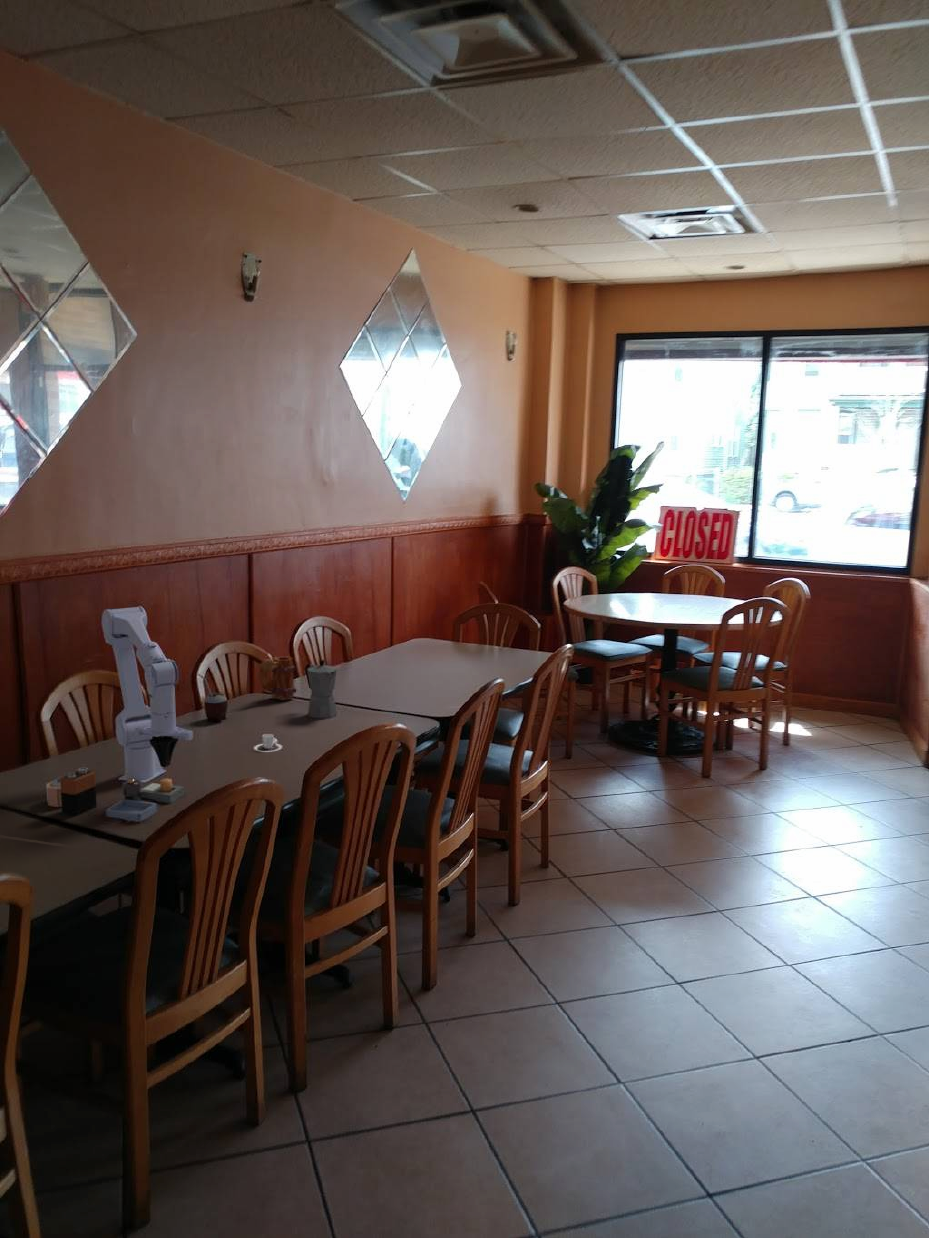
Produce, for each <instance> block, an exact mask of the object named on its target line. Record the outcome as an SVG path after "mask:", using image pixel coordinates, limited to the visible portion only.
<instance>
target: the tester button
mask: <svg viewBox="0 0 929 1238" xmlns="http://www.w3.org/2000/svg"><path fill="white" fill-rule="evenodd" d="M159 784H160V792H167V793H169V792H171V791H172V785H173V780H172V778H162V779H160V780H159Z"/></svg>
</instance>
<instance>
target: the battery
mask: <svg viewBox="0 0 929 1238" xmlns="http://www.w3.org/2000/svg"><path fill="white" fill-rule="evenodd" d="M88 769H89V768H88V767H85V766H84V767H79V768H78V769H77V771H75V772H68V773H67V775H63V776H64V777H62V778H60V785H61V800H62V807H61V812H62V815H67V816H72V817H78V816H81V815H83V814H84V813H86V812H88V811H91V810H93V809H96V808H97V807H98V805H97V791H96V790H97V789H96V788H97V786H96V785H97V784H96V773H95V772H94V771H92V770H88Z"/></svg>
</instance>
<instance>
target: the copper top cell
mask: <svg viewBox="0 0 929 1238" xmlns="http://www.w3.org/2000/svg"><path fill="white" fill-rule="evenodd" d="M121 786H122V787H121V788H122V800H123V799H127V800H134V801H142V798H141V791H140V789H141V782H140V781H138V780H135V779H128V780H124V781H123V782H122V785H121Z"/></svg>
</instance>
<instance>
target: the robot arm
mask: <svg viewBox="0 0 929 1238" xmlns="http://www.w3.org/2000/svg"><path fill="white" fill-rule="evenodd" d="M147 625H148V615H147V612H146V609H144V608H143V606H141V605H138V606H135V607H134V606H133V607H124V608H113V609H104V610H103V612H102V615H101V627H102V631H103V637H104V639H105V643H106V644H108V645H110V646H112V649H113V650H112V651H113V654H114V658H115V662H116V669H117V674H118V679H119V685H120V690H121V695H122V700H123V707H124V708H123V709H122V710H121V712H119V713H118V714H117V716H116V717H115V736H116V740H117V743H118V744H119V745H120V746H122V747H123V749H124V750H123V751H124V753H123V754H124V768H125V769H124V771H125V774H124V775H122V776H120V777H119V778H118V779H117V780H119V781H120V780H121V781H127V780H128V779H135V780H138V781H140V783H143V784H144V783H147V782H149V781H151V780H153V779H154V780H155V779H156V778H157V777H159V776H161V775H163V774H165V773H166V772H167V771H166V769H163V768H167V767H168V766H171V761H172V757H173V752H174V749H175V747H176V746H177V743H178V741H179V740H185V741H187V742H189V741H191V740H193V739H194V732H193V730H189V729H185V728H181V727H178V726H177V717H176V715H177V714H176V712H177V711H176V695H175V691H176V690H175V689H176V688H175V685H176V684H178V682H179V670H178V666H177V664H176V662H175V661H174V660H173V659H170V658H167V657H166V656H165V654H164V652H163V650H162V649H161V647H160V646H159V644H158V643H157V642H155V641H152V640H151V638H150V636H149V632H148V631H147ZM134 646H135V648H136V650H135V649H134ZM135 651H136V652H135ZM136 658H137V659H136ZM137 660H138V661H139V663H140V665H141V666H142V668H143V670H144V679H145V683H146V689H147V693H148V695H149V704H150V705H149V706H148V705H146V704H145V701H144V695H143V691H142V685H141V680H140V675H139V669H138V665H137Z"/></svg>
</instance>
